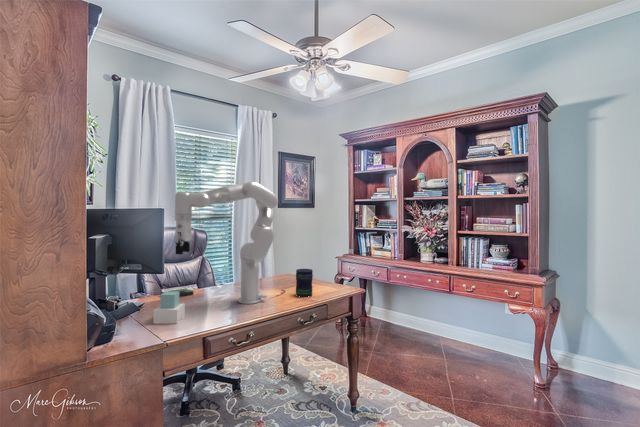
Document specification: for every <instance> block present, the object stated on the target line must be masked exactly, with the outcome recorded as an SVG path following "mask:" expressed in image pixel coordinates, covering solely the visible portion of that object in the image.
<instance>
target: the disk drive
mask: <svg viewBox="0 0 640 427" xmlns="http://www.w3.org/2000/svg"><path fill="white" fill-rule="evenodd" d="M171 291H179V298H182V297H188V296H189V297H190V296H194V291H193V290H191V289H188V288H178V289H174V290H173V289H172V290H171ZM164 292H165V291H161V292H160V295H161V294H163V293H164Z"/></svg>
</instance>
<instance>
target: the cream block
mask: <svg viewBox="0 0 640 427" xmlns="http://www.w3.org/2000/svg"><path fill="white" fill-rule="evenodd" d="M185 316H186V303H184V302H183V303H182V302H179V305H178V306H177V307H176V308H160V305H158V306H157V307H156V308H154V309H153V316H152V317H153V320H152V321H153V324H155V325H159V324H161V325H162V324H163V325H164V324H167V325H168V324H172V325H173V324H174V325H175V324H179V322H181V321H182V320H183V319H184V318H185Z"/></svg>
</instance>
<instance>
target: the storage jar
mask: <svg viewBox="0 0 640 427" xmlns="http://www.w3.org/2000/svg"><path fill="white" fill-rule="evenodd" d="M295 272H296V274H295V279H296V286H295V296H296V295H297V296H300V297H299V298H301V297H308V296H311V297H313V278H314V277H313V276H314V275H313V269H311V268H297V269H296V270H295ZM297 296H296V297H297ZM308 298H309V297H308Z"/></svg>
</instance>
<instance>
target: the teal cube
mask: <svg viewBox="0 0 640 427" xmlns="http://www.w3.org/2000/svg"><path fill="white" fill-rule="evenodd" d="M163 292H164V293H163V294H161V293H160V298H159V300H160V305H159V306H160V308H176V307H177V306H178V305H179V303H180V297H179V291H172V290H167V291H163Z"/></svg>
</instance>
